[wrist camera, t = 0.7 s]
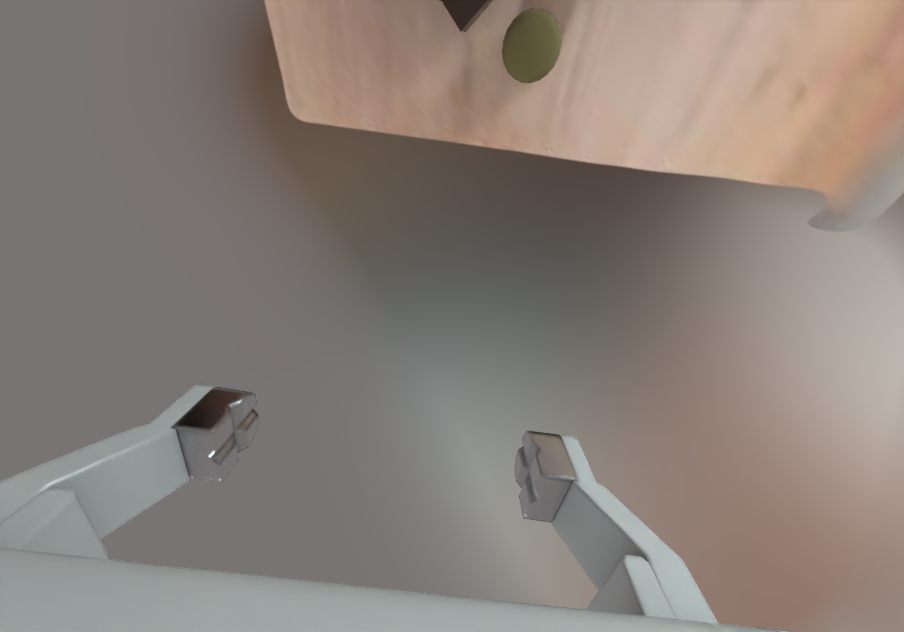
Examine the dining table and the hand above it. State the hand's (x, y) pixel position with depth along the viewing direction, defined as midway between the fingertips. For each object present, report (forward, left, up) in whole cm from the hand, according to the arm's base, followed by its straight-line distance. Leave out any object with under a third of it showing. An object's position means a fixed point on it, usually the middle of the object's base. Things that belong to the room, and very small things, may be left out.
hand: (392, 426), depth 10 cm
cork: (-9, +1, -43) cm, 44 cm away
